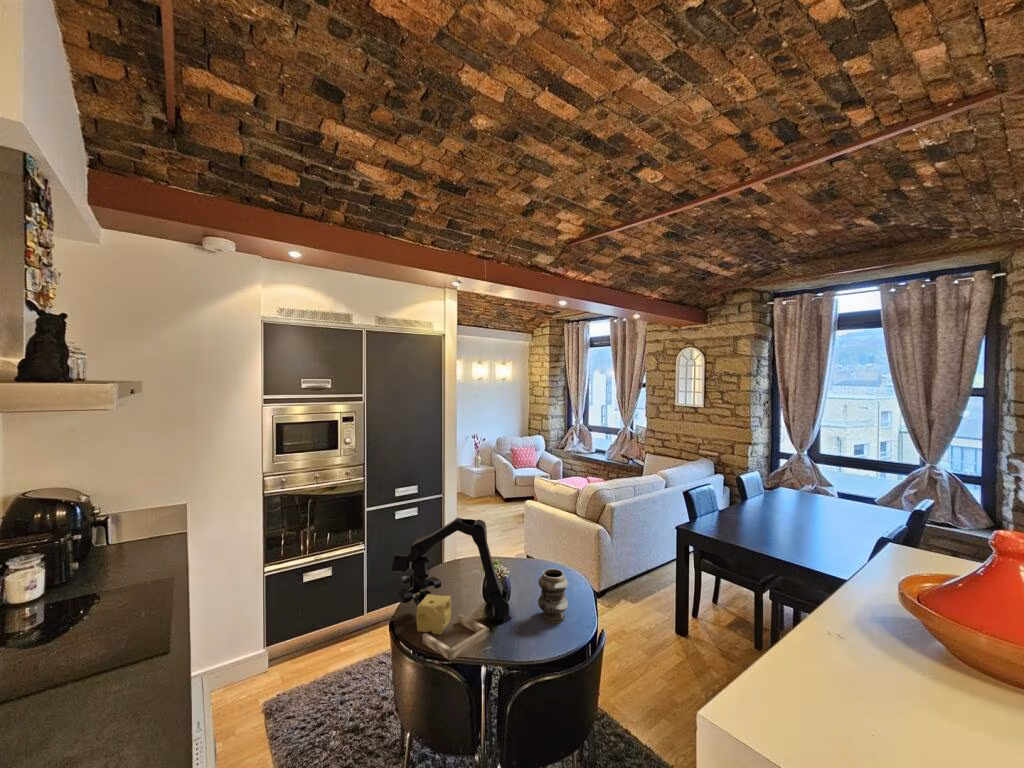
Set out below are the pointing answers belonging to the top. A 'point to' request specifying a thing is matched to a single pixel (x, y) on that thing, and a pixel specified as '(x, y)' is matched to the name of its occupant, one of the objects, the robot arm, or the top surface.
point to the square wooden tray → (462, 646)
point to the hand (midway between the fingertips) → (419, 610)
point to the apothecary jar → (553, 595)
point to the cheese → (433, 613)
